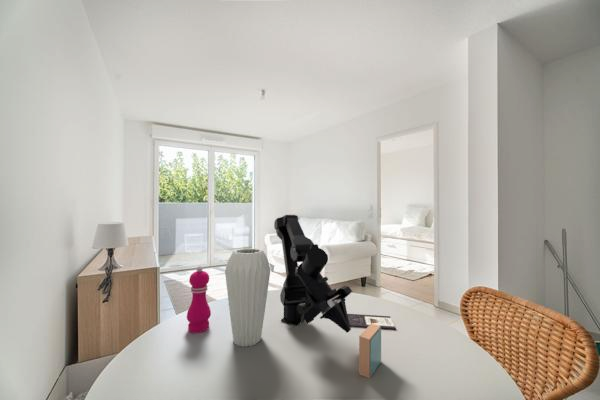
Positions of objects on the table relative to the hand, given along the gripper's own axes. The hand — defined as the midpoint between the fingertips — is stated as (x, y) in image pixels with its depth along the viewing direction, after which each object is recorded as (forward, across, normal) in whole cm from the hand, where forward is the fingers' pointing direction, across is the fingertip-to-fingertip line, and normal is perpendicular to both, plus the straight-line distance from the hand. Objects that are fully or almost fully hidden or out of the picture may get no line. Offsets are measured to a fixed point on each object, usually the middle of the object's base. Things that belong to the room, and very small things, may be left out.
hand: (349, 331), depth 67 cm
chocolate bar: (+2, -23, -9) cm, 25 cm away
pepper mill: (-28, +14, -38) cm, 49 cm away
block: (+9, 0, -1) cm, 9 cm away
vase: (-15, +9, -26) cm, 31 cm away
